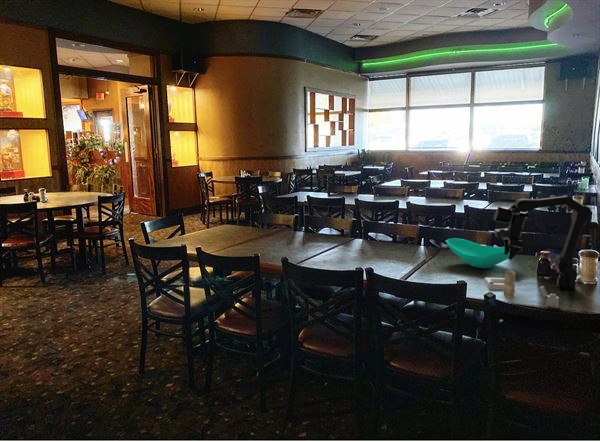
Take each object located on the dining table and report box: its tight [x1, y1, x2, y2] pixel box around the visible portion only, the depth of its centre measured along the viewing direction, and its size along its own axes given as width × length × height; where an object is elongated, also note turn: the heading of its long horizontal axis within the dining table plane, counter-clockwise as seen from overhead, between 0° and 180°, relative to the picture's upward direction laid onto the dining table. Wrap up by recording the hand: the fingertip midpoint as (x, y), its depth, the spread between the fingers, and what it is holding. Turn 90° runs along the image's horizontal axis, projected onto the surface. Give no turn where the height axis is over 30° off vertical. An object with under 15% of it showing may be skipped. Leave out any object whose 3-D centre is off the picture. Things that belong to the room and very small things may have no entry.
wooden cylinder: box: [503, 269, 516, 298], centre depth 208 cm, size 3×3×12 cm
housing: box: [484, 277, 505, 291], centre depth 223 cm, size 11×11×3 cm
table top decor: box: [445, 237, 510, 269], centre depth 256 cm, size 40×28×13 cm
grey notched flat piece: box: [539, 285, 560, 309], centre depth 195 cm, size 7×2×8 cm, turn 47°
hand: (507, 256), depth 220 cm, fingers open, 9 cm apart
